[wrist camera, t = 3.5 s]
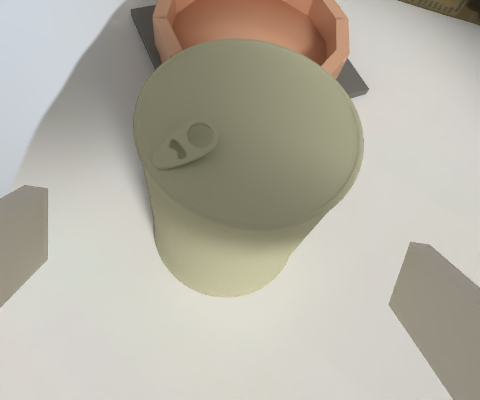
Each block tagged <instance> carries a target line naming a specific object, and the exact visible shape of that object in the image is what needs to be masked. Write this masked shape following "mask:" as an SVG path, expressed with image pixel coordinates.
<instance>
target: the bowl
mask: <svg viewBox="0 0 480 400" xmlns="http://www.w3.org/2000/svg"><path fill="white" fill-rule="evenodd" d="M152 18H153V29H154V40H155V45H156V48H157V50H158V52H159V55H160V60H161V62H162V63H164V62H165V61H166V60H168V59H169V58H171V57H172V56H173V55H175V54H177V53H179V52H180V51H182V50H185V49H187V48H189V47H192V46H194V45H197V44H200V43H204V42H208V41H213V40H220V39H231V38H240V39H253V40H260V41H265V42H270V43H274V44H277V45H280V46H284V47H286V48H289V49H291V50H293V51H296V52H298V53H300V54H302V55H304V56H306V57H307V58H309V59H311V60H312V61H314V62H315V63H317V64H318V65H320V66H321V67H322V68H323V69H325V70H326V71H327V72H328V73H330V74H331V75H332V76H333V77H334V79H335V80H336V79H337V77H338V75H339V73H340V71H341V69H342V67H343V65H344V63H345V62H346V60H347V58H348V56H349V29H348V18H347V17H346V15H345V14H344V12H343V11H342V10H341V8H340V7H339V6H338V4H337V3H336V2H335V0H158V1H157V4H156V7H155V10H154V13H153V16H152Z"/></svg>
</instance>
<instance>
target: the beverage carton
mask: <svg viewBox="0 0 480 400" xmlns="http://www.w3.org/2000/svg"><path fill="white" fill-rule="evenodd" d="M399 1H402V2H405V3H408V4H412V5H415V6H418V7H421V8H424V9H427V10H431V11H434V12H438V13H441V14H444V15H447V16H451V17H454V18H458V19H462V20H465V21H468V22H471V23H475V24H478V25H480V0H399Z"/></svg>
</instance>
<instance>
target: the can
mask: <svg viewBox="0 0 480 400" xmlns="http://www.w3.org/2000/svg"><path fill="white" fill-rule="evenodd" d="M133 129H134V139H135V144H136V148H137V151H138V154H139V157H140V159H141V162H142V165H143V168H144V173H145V177H146V182H147V187H148V191H149V196H150V201H151V206H152V211H153V216H154V221H155V227H154V233H155V241H156V246H157V249H158V252H159V255H160V257H161V259H162V261H163V262H164V264H165V265H166V267H167V268H168V270H169V271H170V272H171V273H172V274H173V275H174V276H175V277H176V278H177V279H178V280H179V281H180V282H182V283H183V284H184V285H186V286H188V287H189V288H191V289H193V290H195V291H197V292H200V293H203V294H206V295H210V296H215V297H237V296H242V295H246V294H250V293H252V292H255V291H257V290H259V289H261V288H262V287H264V286H266V285H267V284H269V283H270V282H271V281H272V280H273V279H274V278H275V277H276V276H277V275H278V274H279V273H280V272H281V270H282V269H283V267H284V266H285V264H286V262H287V261H288V258H289V256H290V255H291V254H292V253H293V252H294V250H295V249H296V248H297V247H298V246H299V244H300V243H301V242H302V241H303V240H304V238H305V237H306V236H307V235H308V234H309V233H310V232H311V230H312V229H313V228H314V227H315V226H316V225H317V224H318V222H319V221H320V220H321V219H322V218H323V217H324V216H325V214H326V213H327V212H328V211H329V210H331V209H332V208H333V207H334V206H336V205H337V204H338V203H339V202H340V201H341V200H342V199H343V198H344V196H345V195H346V194H347V193H348V191H349V190H350V188H351V187H352V185H353V183H354V182H355V180H356V178H357V175H358V173H359V170H360V167H361V163H362V159H363V151H364V138H363V131H362V126H361V122H360V119H359V116H358V113H357V110H356V108H355V106H354V104H353V103H352V101H351V99H350V97H349V96H348V94H347V93H346V91H345V90H344V89H343V87H342V86H341V85H340V84H339V83H338V82H337V81H336V80H335V79H334V77H333V76H332V75H331V74H330V73H328V72H327V71H326V70H325V69H323V68H322V67H321V66H320V65H318V64H317V63H315V62H314V61H312V60H311V59H309V58H307V57H306V56H304V55H302V54H300V53H298V52H296V51H293V50H291V49H289V48H286V47H284V46H280V45H277V44H274V43H270V42H265V41H260V40H253V39H240V38H231V39H220V40H213V41H208V42H204V43H200V44H197V45H194V46H192V47H189V48H187V49H185V50H182V51H180V52H179V53H177V54H175V55H173V56H172V57H171V58H169V59H168V60H166V61H165V62H164V63H162V64H161V65H160V66H159V67H158V68H157V69H156V70H155V71H154V72H153V73H152V75H151V76H150V77H149V79H148V80H147V81H146V83H145V85H144V86H143V88H142V90H141V92H140V94H139V97H138V100H137V103H136V107H135V112H134V121H133Z"/></svg>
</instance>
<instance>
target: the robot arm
mask: <svg viewBox="0 0 480 400" xmlns="http://www.w3.org/2000/svg"><path fill="white" fill-rule="evenodd" d="M47 259H48V188H41V187H34V186H28V185H24V186H22V187H21V188H19V189H17V190H15V191H13V192H11V193H10V194H8V195H6V196H4V197H3V198H1V199H0V308H1V307H2V306H3V305H4V304H5V302H6V301H7V300H8V299H9V298H10V297H11V296H12V295H13V294H14V293H15V292H16V291H17V290H18V289H19V288H20V287H21V286H22V285H23V284H24V283H25V282H26V281H27V280H28V279H29V278H30V277H31V276H32V275H33V274H34V273H35V272H36V271H37V270H38V269H39V268H40V267H41V266H42V265H43V264H44V263H45V261H46V260H47ZM389 306H390V307H391V309H392V310H393V312H394V313H395V315H396V316H397V318H398V319H399V321H400V322H401V324H402V325H403V327H404V328H405V329H406V331H407V332H408V334H409V335H410V337H411V338H412V340H413V341H414V343H415V344H416V346H417V347H418V349H419V350H420V351H421V353H422V354H423V356H424V357H425V359H426V360H427V362H428V363H429V365H430V366H431V368H432V369H433V371H434V372H435V373H436V375H437V376H438V378H439V379H440V381H441V382H442V384H443V385H444V387H445V388H446V390H447V391H448V393H449V394H450V395H451V397H452V398H453V400H480V288H479V287H478V286H477V285H476V284H475V283H473V282H472V281H471V280H470V279H469V278H468V277H466V276H465V275H464V274H463V273H462V272H461V271H460V270H458V269H457V268H456V267H455V266H454V265H453V264H451V263H450V262H449V261H448V260H447V259H446V258H444V257H443V256H442V255H441V254H440V253H439V252H438V251H436V250H435V249H434V248H433V247H432V246H431V245H428V244H421V243H414V242H410V244H409V247H408V250H407V253H406V256H405V259H404V261H403V264H402V267H401V270H400V273H399V276H398V279H397V282H396V285H395V287H394V290H393V293H392V296H391V299H390V302H389Z"/></svg>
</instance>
